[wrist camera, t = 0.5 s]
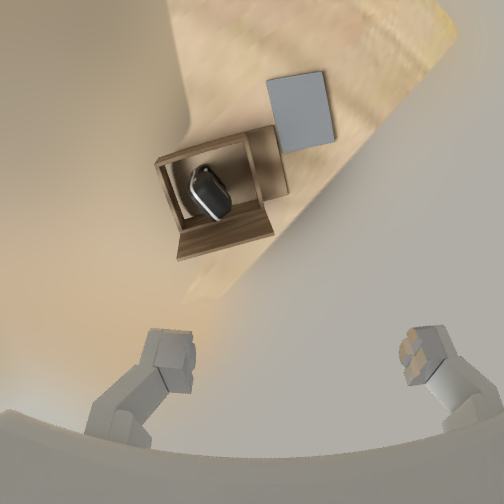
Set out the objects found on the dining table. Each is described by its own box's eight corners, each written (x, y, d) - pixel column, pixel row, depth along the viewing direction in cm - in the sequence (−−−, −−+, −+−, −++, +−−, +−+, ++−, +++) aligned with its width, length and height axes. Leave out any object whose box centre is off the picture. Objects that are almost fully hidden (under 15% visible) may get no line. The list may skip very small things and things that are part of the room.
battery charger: (231, 187, 55) (236, 212, 45) (215, 199, 56) (216, 227, 46) (207, 157, 51) (206, 177, 42) (190, 171, 52) (185, 193, 42)
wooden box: (158, 157, 50) (144, 179, 39) (272, 125, 50) (289, 138, 39) (183, 225, 57) (177, 261, 47) (288, 196, 57) (306, 226, 46)
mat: (265, 81, 45) (266, 81, 45) (319, 71, 45) (321, 71, 44) (282, 152, 52) (283, 153, 51) (332, 141, 52) (334, 142, 51)
